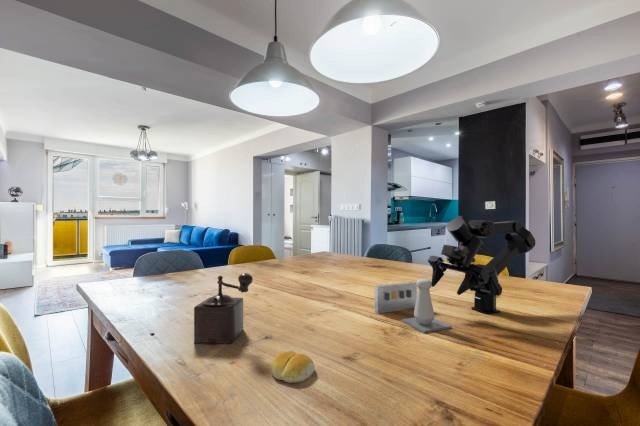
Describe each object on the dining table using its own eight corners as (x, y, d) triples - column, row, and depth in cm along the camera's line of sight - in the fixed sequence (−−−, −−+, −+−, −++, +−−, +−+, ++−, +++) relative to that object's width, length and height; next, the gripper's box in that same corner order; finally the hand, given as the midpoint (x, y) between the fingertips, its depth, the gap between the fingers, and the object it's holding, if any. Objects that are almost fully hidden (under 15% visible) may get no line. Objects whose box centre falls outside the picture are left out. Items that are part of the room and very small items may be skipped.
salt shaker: (431, 328, 86) (430, 282, 86) (411, 323, 90) (411, 280, 90) (436, 322, 91) (436, 279, 91) (417, 318, 94) (417, 276, 94)
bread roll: (286, 359, 70) (286, 342, 70) (319, 370, 65) (319, 351, 65) (261, 376, 63) (261, 356, 63) (296, 389, 58) (296, 368, 58)
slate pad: (427, 317, 97) (427, 315, 97) (451, 328, 88) (451, 326, 88) (401, 321, 93) (401, 319, 93) (423, 333, 84) (423, 330, 84)
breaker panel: (413, 306, 108) (413, 281, 108) (418, 308, 106) (418, 283, 106) (374, 311, 103) (374, 285, 103) (379, 314, 100) (378, 287, 100)
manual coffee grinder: (191, 344, 77) (191, 274, 77) (209, 328, 88) (209, 267, 89) (250, 345, 77) (250, 275, 77) (261, 329, 88) (261, 267, 88)
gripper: (431, 232, 104) (408, 268, 99) (485, 239, 88) (461, 282, 83) (445, 252, 108) (424, 287, 103) (498, 262, 93) (477, 304, 88)
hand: (444, 290), depth 94 cm, fingers open, 9 cm apart
